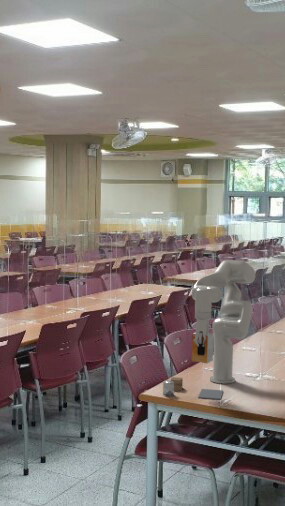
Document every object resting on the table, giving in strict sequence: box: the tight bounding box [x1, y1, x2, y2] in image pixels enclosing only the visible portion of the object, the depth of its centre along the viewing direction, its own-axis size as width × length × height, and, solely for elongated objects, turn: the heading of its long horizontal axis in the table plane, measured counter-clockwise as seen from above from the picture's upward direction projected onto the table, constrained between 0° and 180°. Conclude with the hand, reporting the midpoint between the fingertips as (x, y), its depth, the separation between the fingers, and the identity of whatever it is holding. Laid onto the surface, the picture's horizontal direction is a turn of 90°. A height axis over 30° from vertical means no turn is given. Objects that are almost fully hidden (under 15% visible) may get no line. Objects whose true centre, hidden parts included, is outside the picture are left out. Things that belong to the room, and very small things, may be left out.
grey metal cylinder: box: [162, 379, 175, 397], centre depth 298 cm, size 5×5×6 cm
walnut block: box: [170, 376, 184, 391], centre depth 308 cm, size 5×5×5 cm
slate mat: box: [197, 388, 224, 401], centre depth 299 cm, size 14×10×1 cm
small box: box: [191, 331, 214, 364], centre depth 298 cm, size 8×6×13 cm
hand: (202, 352), depth 298 cm, fingers closed on small box, 7 cm apart
